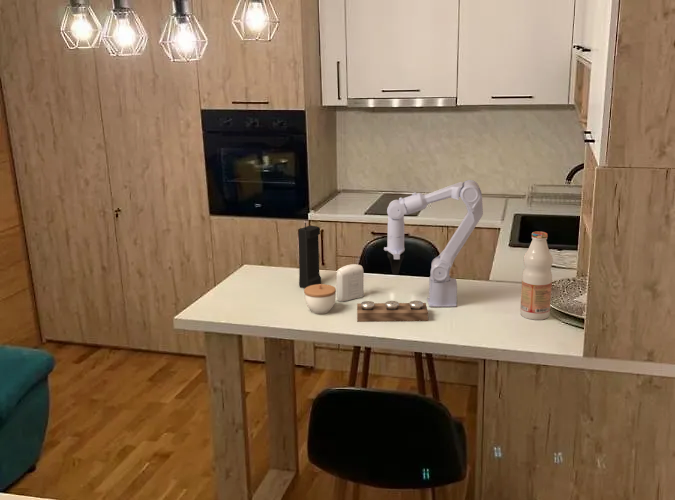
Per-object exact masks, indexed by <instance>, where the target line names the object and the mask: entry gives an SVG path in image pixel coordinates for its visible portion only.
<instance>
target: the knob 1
mask: <svg viewBox="0 0 675 500" xmlns="http://www.w3.org/2000/svg"><path fill="white" fill-rule="evenodd" d="M360 303H361V308H363V309H364V310H372V308H374V303H375V302H374V301H372V300H364V301H362V302H360Z"/></svg>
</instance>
